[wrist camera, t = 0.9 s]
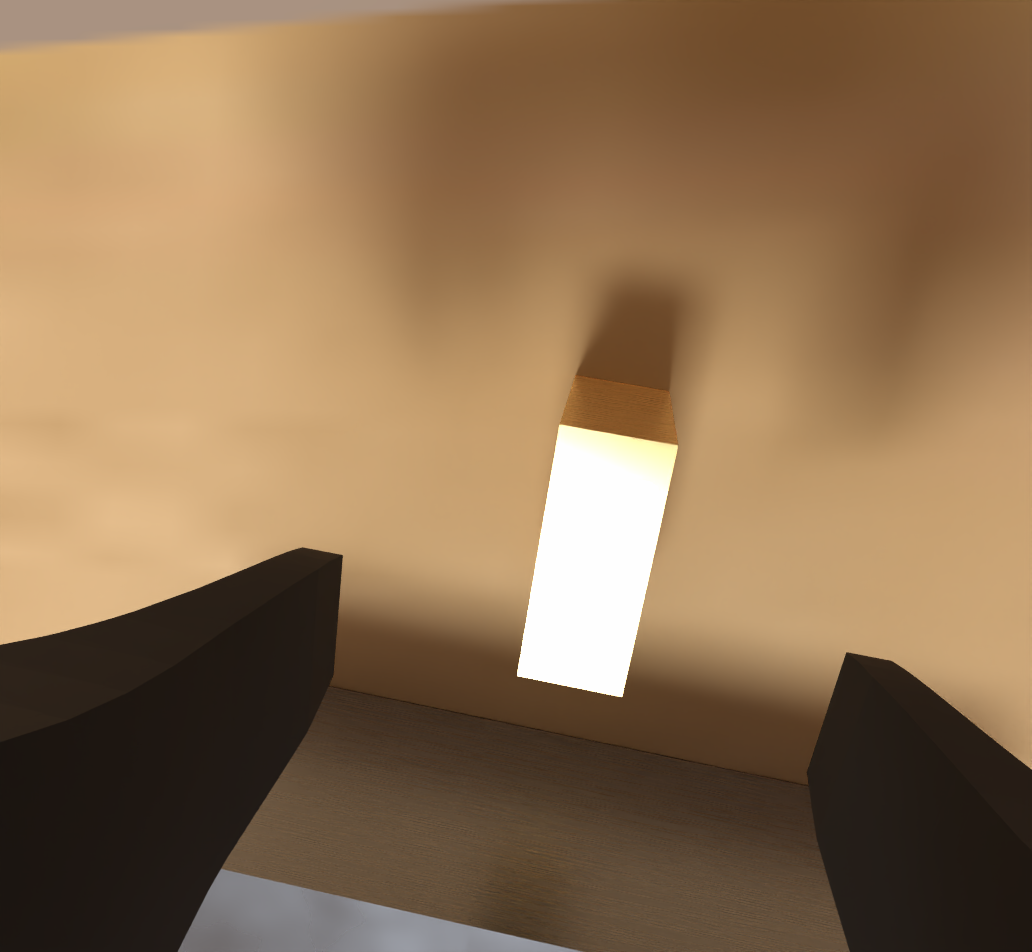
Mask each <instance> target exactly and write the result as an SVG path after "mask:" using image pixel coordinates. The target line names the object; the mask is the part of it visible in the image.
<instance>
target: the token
mask: <svg viewBox="0 0 1032 952" xmlns="http://www.w3.org/2000/svg"><path fill="white" fill-rule="evenodd" d="M677 449H678V441H677V435H676V429H675V423H674V417H673V411H672V405H671V399H670V393H669V391H665V390H660V389H654V388H648V387H642V386H636V385H631V384H625V383H619V382H613V381H607V380H602V379H596V378H590V377H584V376H579V375H575V378H574V382H573V385H572V388H571V391H570V394H569V397H568V400H567V403H566V407H565V410H564V413H563V416H562V419H561V422H560V426H559V432H558V438H557V444H556V449H555V455H554V461H553V467H552V473H551V479H550V485H549V491H548V497H547V503H546V508H545V514H544V520H543V526H542V532H541V538H540V544H539V550H538V556H537V562H536V567H535V573H534V579H533V585H532V591H531V597H530V603H529V609H528V615H527V621H526V626H525V632H524V638H523V644H522V650H521V656H520V662H519V668H518V674H517V676H521V677H525V678H530V679H535V680H540V681H545V682H550V683H555V684H560V685H565V686H570V687H575V688H580V689H585V690H589V691H594V692H599V693H604V694H609V695H614V696H619V697H622V695H623V690H624V686H625V681H626V677H627V672H628V668H629V664H630V659H631V655H632V650H633V646H634V641H635V637H636V632H637V628H638V623H639V619H640V614H641V610H642V605H643V601H644V596H645V592H646V587H647V583H648V579H649V574H650V570H651V565H652V561H653V556H654V552H655V547H656V543H657V538H658V534H659V529H660V525H661V520H662V516H663V511H664V507H665V502H666V498H667V494H668V489H669V485H670V480H671V476H672V471H673V467H674V462H675V458H676V453H677Z"/></svg>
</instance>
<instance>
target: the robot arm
mask: <svg viewBox="0 0 1032 952" xmlns="http://www.w3.org/2000/svg"><path fill="white" fill-rule="evenodd" d="M342 558H343V555H339V554H334V553H329V552H323V551H318V550H313V549H308V548H303V547H302V548H299V549H295V550H292V551H289V552H286V553H284V554H281V555H278V556H276V557H273V558H271V559H268V560H266V561H263V562H261V563H259V564H256V565H254V566H251V567H249V568H247V569H244V570H242V571H239V572H237V573H234V574H232V575H230V576H227V577H225V578H222V579H220V580H217V581H215V582H213V583H210V584H208V585H205V586H203V587H200V588H198V589H195V590H192V591H190V592H187V593H184V594H181V595H178V596H176V597H173V598H170V599H167V600H165V601H162V602H159V603H156V604H154V605H151V606H148V607H145V608H142V609H140V610H137V611H134V612H131V613H128V614H125V615H121V616H118V617H115V618H112V619H108V620H105V621H102V622H98V623H94V624H91V625H87V626H83V627H79V628H75V629H72V630H68V631H64V632H60V633H56V634H52V635H48V636H43V637H39V638H33V639H28V640H23V641H18V642H13V643H8V644H3V645H0V952H178V950H179V948H180V946H181V944H182V942H183V940H184V938H185V936H186V934H187V932H188V930H189V928H190V926H191V924H192V922H193V920H194V918H195V916H196V914H197V912H198V910H199V908H200V906H201V905H202V903H203V901H204V899H205V897H206V895H207V893H208V891H209V889H210V887H211V885H212V884H213V882H214V880H215V878H216V877H217V875H218V873H219V871H220V870H221V868H222V866H223V865H224V863H225V861H226V859H227V858H228V856H229V855H230V853H231V851H232V850H233V848H234V847H235V845H236V844H237V842H238V841H239V839H240V837H241V836H242V834H243V833H244V831H245V830H246V828H247V827H248V825H249V823H250V822H251V820H252V819H253V817H254V816H255V814H256V813H257V811H258V809H259V808H260V806H261V805H262V803H263V802H264V800H265V799H266V797H267V795H268V794H269V792H270V791H271V789H272V788H273V786H274V785H275V783H276V781H277V780H278V778H279V777H280V775H281V774H282V772H283V770H284V769H285V767H286V766H287V764H288V763H289V761H290V759H291V758H292V756H293V755H294V753H295V751H296V750H297V748H298V747H299V745H300V743H301V742H302V740H303V739H304V737H305V735H306V734H307V732H308V730H309V728H310V726H311V724H312V721H313V719H314V717H315V715H316V713H317V711H318V709H319V707H320V704H321V702H322V700H323V698H324V695H325V693H326V691H327V689H328V686H329V684H330V682H331V679H332V677H333V673H334V660H335V647H336V635H337V622H338V609H339V597H340V584H341V571H342ZM807 776H808V783H809V791H810V799H811V807H812V813H813V819H814V826H815V832H816V838H817V842H818V846H819V849H820V853H821V857H822V860H823V863H824V867H825V870H826V874H827V877H828V881H829V884H830V888H831V891H832V895H833V898H834V901H835V905H836V908H837V911H838V915H839V918H840V921H841V925H842V928H843V931H844V935H845V938H846V941H847V945H848V948H849V951H850V952H1032V770H1031V769H1030V768H1029V767H1027V766H1026V765H1025V764H1024V763H1022V762H1021V761H1020V760H1018V759H1017V758H1016V757H1014V756H1013V755H1012V754H1011V753H1009V752H1008V751H1007V750H1006V749H1004V748H1003V747H1002V746H1001V745H999V744H998V743H997V742H996V741H994V740H993V739H992V738H991V737H989V736H988V735H987V734H986V733H984V732H983V731H982V730H981V729H979V728H978V727H977V726H976V725H974V724H973V723H972V722H971V721H970V720H968V719H967V718H966V717H965V716H963V715H962V714H961V713H960V712H958V711H957V710H956V709H955V708H954V707H952V706H951V705H950V704H949V703H947V702H946V701H945V700H944V699H942V698H941V697H940V696H939V695H937V694H936V693H935V692H934V691H933V690H931V689H930V688H929V687H927V686H926V685H925V684H924V683H922V682H921V681H920V680H918V679H917V678H916V677H914V676H913V675H912V674H910V673H909V672H908V671H906V670H905V669H903V668H902V667H900V666H899V665H897V664H896V663H894V662H892V661H889V660H884V659H879V658H873V657H868V656H863V655H858V654H853V653H847V652H846V655H845V658H844V661H843V664H842V667H841V670H840V673H839V677H838V680H837V683H836V686H835V689H834V692H833V695H832V698H831V701H830V704H829V707H828V710H827V713H826V716H825V719H824V722H823V725H822V728H821V731H820V734H819V737H818V740H817V744H816V747H815V750H814V753H813V756H812V759H811V762H810V765H809V768H808V771H807Z"/></svg>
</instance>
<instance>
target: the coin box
mask: <svg viewBox="0 0 1032 952" xmlns="http://www.w3.org/2000/svg"><path fill="white" fill-rule="evenodd" d="M178 952H850V951H849V948H848V945H847V941H846V938H845V935H844V931H843V928H842V925H841V921H840V918H839V915H838V911H837V908H836V905H835V901H834V898H833V895H832V891H831V888H830V884H829V881H828V877H827V874H826V870H825V867H824V863H823V860H822V857H821V853H820V849H819V846H818V842H817V838H816V832H815V826H814V819H813V813H812V807H811V799H810V791H809V786H805V785H800V784H795V783H791V782H786V781H781V780H776V779H771V778H767V777H762V776H757V775H752V774H747V773H743V772H738V771H733V770H728V769H723V768H719V767H714V766H709V765H704V764H699V763H695V762H690V761H685V760H680V759H675V758H671V757H666V756H661V755H656V754H651V753H647V752H642V751H637V750H632V749H627V748H623V747H618V746H613V745H608V744H604V743H599V742H594V741H589V740H584V739H580V738H575V737H570V736H565V735H560V734H556V733H551V732H546V731H541V730H536V729H532V728H527V727H522V726H517V725H512V724H508V723H503V722H498V721H493V720H488V719H484V718H479V717H474V716H469V715H464V714H460V713H455V712H450V711H445V710H440V709H436V708H431V707H426V706H421V705H416V704H412V703H407V702H402V701H397V700H392V699H388V698H383V697H378V696H373V695H368V694H364V693H359V692H354V691H349V690H344V689H340V688H335V687H330V686H328V689H327V691H326V693H325V695H324V698H323V700H322V702H321V704H320V707H319V709H318V711H317V713H316V715H315V717H314V719H313V721H312V724H311V726H310V728H309V730H308V732H307V734H306V735H305V737H304V739H303V740H302V742H301V743H300V745H299V747H298V748H297V750H296V751H295V753H294V755H293V756H292V758H291V759H290V761H289V763H288V764H287V766H286V767H285V769H284V770H283V772H282V774H281V775H280V777H279V778H278V780H277V781H276V783H275V785H274V786H273V788H272V789H271V791H270V792H269V794H268V795H267V797H266V799H265V800H264V802H263V803H262V805H261V806H260V808H259V809H258V811H257V813H256V814H255V816H254V817H253V819H252V820H251V822H250V823H249V825H248V827H247V828H246V830H245V831H244V833H243V834H242V836H241V837H240V839H239V841H238V842H237V844H236V845H235V847H234V848H233V850H232V851H231V853H230V855H229V856H228V858H227V859H226V861H225V863H224V865H223V866H222V868H221V870H220V871H219V873H218V875H217V877H216V878H215V880H214V882H213V884H212V885H211V887H210V889H209V891H208V893H207V895H206V897H205V899H204V901H203V903H202V905H201V906H200V908H199V910H198V912H197V914H196V916H195V918H194V920H193V922H192V924H191V926H190V928H189V930H188V932H187V934H186V936H185V938H184V940H183V942H182V944H181V946H180V948H179V950H178Z"/></svg>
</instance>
